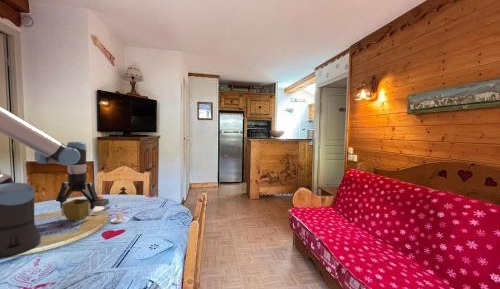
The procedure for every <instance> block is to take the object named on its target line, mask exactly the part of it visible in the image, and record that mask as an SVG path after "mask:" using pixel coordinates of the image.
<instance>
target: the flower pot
mask: <svg viewBox="0 0 500 289" xmlns="http://www.w3.org/2000/svg"><path fill="white" fill-rule="evenodd" d="M65 202H66V201H65ZM88 203H90V202H89V201H88V200H87V198H85V199H83V198H81V199H80V198H75V199H72V200H70V201H67V202H66V203H64V204H62V205H63V211H64V214H65V215H64V216H65V217H66V219H67V220H68V221H70V220H79V221H81V220H83V219H85V218H87V217H88ZM84 217H85V218H84ZM82 218H83V219H82ZM80 219H81V220H80Z"/></svg>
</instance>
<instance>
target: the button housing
mask: <svg viewBox="0 0 500 289" xmlns="http://www.w3.org/2000/svg"><path fill="white" fill-rule="evenodd" d="M108 205H109V198H103V201H96V202H95V206H108Z"/></svg>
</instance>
